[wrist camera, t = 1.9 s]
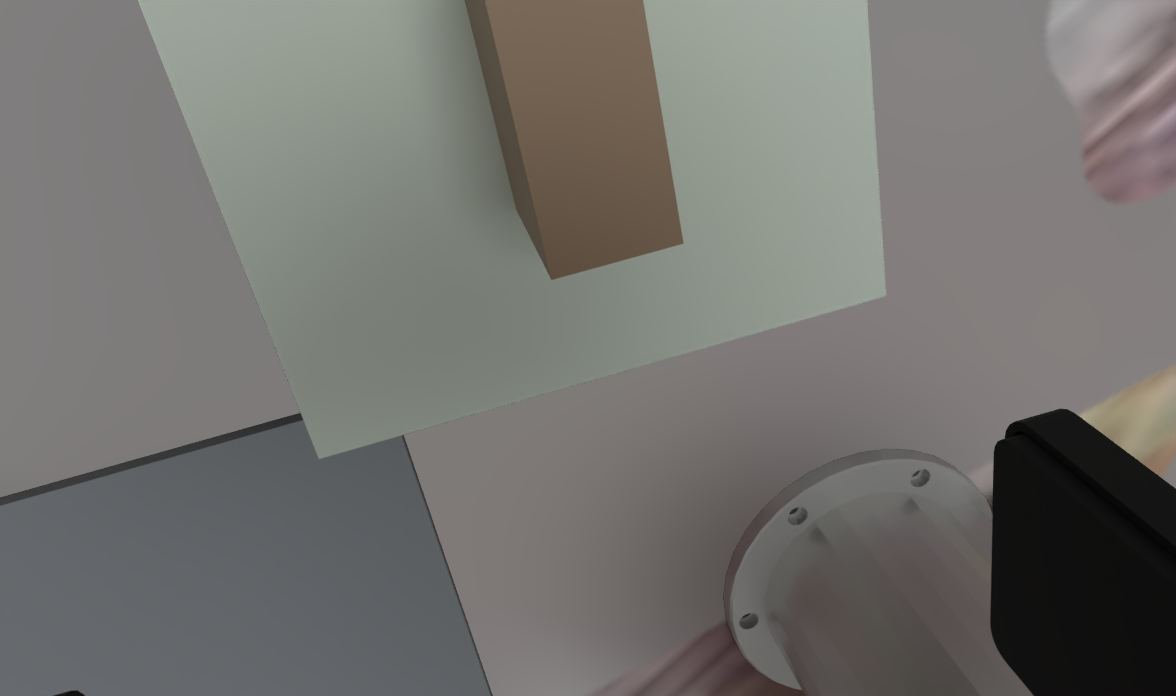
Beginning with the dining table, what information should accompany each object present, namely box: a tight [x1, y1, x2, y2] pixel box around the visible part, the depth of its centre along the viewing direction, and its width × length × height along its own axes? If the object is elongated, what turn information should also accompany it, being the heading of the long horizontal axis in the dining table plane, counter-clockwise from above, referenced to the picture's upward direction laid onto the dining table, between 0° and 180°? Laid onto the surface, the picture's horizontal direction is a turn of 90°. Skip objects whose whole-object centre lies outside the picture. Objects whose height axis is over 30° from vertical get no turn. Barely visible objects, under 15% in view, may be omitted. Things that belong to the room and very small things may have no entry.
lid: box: [138, 0, 886, 459], centre depth 23 cm, size 17×17×6 cm
